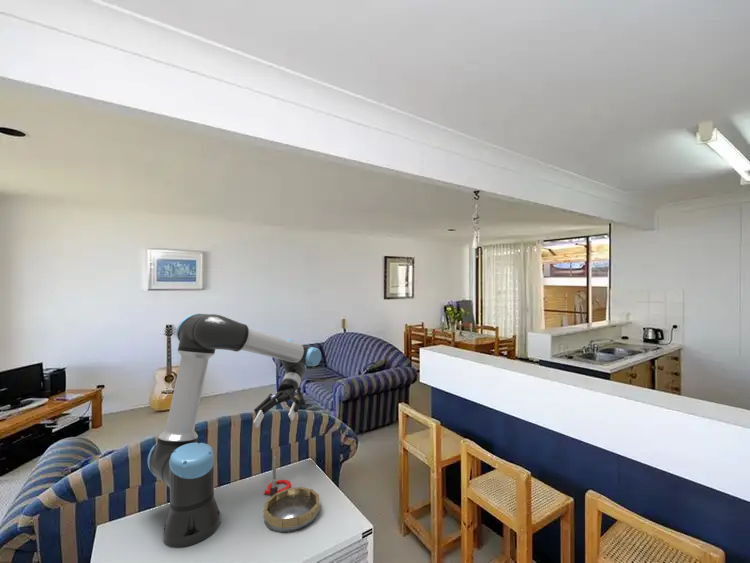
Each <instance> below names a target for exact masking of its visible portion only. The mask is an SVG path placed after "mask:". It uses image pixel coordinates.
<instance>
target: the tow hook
mask: <svg viewBox="0 0 750 563" xmlns="http://www.w3.org/2000/svg"><path fill="white" fill-rule="evenodd" d="M272 459H273V460H272V477H271V478H272V479H271V482H270V483H269V484H268V485H267V486H266V489H265V490H264V492H263V493H264V495H268V496H273V495H274V494H276V493H278V492H281V491H283V490H285V489H289V488H292V482H291V481H290V480H287V479H278V480H277V462H276V456H273V457H272ZM279 484H280V485H286V486H285V487H283V488H279V486H278V485H279Z"/></svg>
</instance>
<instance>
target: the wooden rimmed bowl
mask: <svg viewBox="0 0 750 563" xmlns="http://www.w3.org/2000/svg"><path fill="white" fill-rule="evenodd" d="M320 506H321V504H320V494H318V492H316V491H315V490H314V489H313V488H308V487H302V486H299V487H291V488H289V489H285V490H283V491H281V492H278V493H276V494H274V495H271V496H270V497H269V499H267V500H266V501H265V503H264V506H263V513H262V514H263V519H264V525H265V526H266V527H267V528H268V529H269V530H270V531H272V532H275V533H279V534H280V533H281V534H282V533H284V534H285V533H287V534H288V533H293V532H298V531H301V530H304V529H306V528H308V527H309V526H310V525H312V524H313V523H314V522H315V521H316V520H317V519H318V517H319V515H320Z"/></svg>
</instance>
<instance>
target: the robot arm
mask: <svg viewBox="0 0 750 563" xmlns="http://www.w3.org/2000/svg"><path fill="white" fill-rule="evenodd" d="M176 337H177V340H178V341H179V342H178V347H177V348H178V349H177V353H179V355H180V357H181V358H180V361H179V365H178V371H177V374H176V380H175V385H174V390H173V393H172V398H171V401H170V402H171V403H170V407H169V410H168V411H169V412H168V415H167V421H166V424H165V425H166V426H165V429H164V431H163V432H161V433H160V434H159V435H158V436H157V440H156V444H154V445H153V446H152V447H151V448H150V450H149V453H148V456H147V466H148V469H149V471H150V472H151V474H152V475H153V476H154V477H155V478H156V479H158V480H160V481H161V482H162V483H164V484H165V485H166V486H167V487H168V488H169V511H168V514H167V518H166V523H165V524H164V527H163V529H162V530H163V531H162V539H163V542H164V544H165V545H166V546H168V547H172V548H182V547H183V548H184V547H188V546H192V545H195V544H198V543H200V542H202V541H205V540H206V539H207V538H208V537H210V536H212V535H213V534H214V533H215V532H216V531H217V530H218V528H219V527H220V524H221V512H220V509H219V507H218V504H217V501H216V499H215V476H214V475H215V457H214V451H213V448H212V447H211V445H209V444H208V443H205V442H200V443H199V442H198V437H199V435H198V433H197V432H196V431H195V427H196V423H197V418H198V414H199V413H198V412H199V408H200V404H201V403H200V402H201V399H202V393H203V389H204V383H205V377H206V374H207V370H208V369H207V368H208V364H209V359H210V358H212V357H213V356H214V355H215V352H216V350H226V351H232V352H235V353H236V352H237V353H238V352H240V351H245V352H250V353H253V354H257V355H262V356H266V357H269V358H273V359H274V358H275V359H277V360H280V362H281V363H282V365H283V368H284V372H285V374H284V376H283V378H282V380H281V382H280V384H279V386H278V389H277V392H276V393H275V394H272V393H270V394H268V396H267V397H266V398H265V399H264V400H263V401H262V402H260V404H259V405H257V407H255V408H254V409H253V411H254V414H255V417H254V420H253V422H252V423H253V426H254V427H255V429H258V428H259V427H260V425H261V422H262V421H263V419H264V417H265V415H266V413H267V412H269V411H270V410H271V409H273V408H274V407H276V406H278V405H280V404H281V403H284V402H285V403H286V402H288V401H290V402H291V403H292V405H291V407H290V410H289V412H288V417H289V420H290V422H291V421H294V418H295V415H296V413H298V412H299V409H300V408H301V406H305V405H306V401H305V399H304V396H303V390H302V387H300V385H301V383H302V380H303V378H304V376H305V374H306V371H307V367H316V366H318V365H319V364H320V362H321V360H322V352H321V350H320V349H319V348H317V347H314V346H309V345H308V346H307V345H303V344H300V343H298V342H294V341H293V340H292V338H286V339H285V338H281V337H278V336H275V335H271V334H267V333H263V332H261V331H257V330H254V329H251V328H249V325H247V324H244V323H241V322H239V321H236V320H233V319H230V318H229V317H226V316H223V315H221V314H217V313H216V314H214V313H213V314H212V313H211V314H209V313H195V314H194V313H193V314H191V315H188V316H186V317H185V318H183V319H181V321H180V322H179V324H178V326H177V328H176ZM296 395H297V396H298V397H299V399H298V398H296V397H295V396H296ZM264 414H265V415H264Z"/></svg>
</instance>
